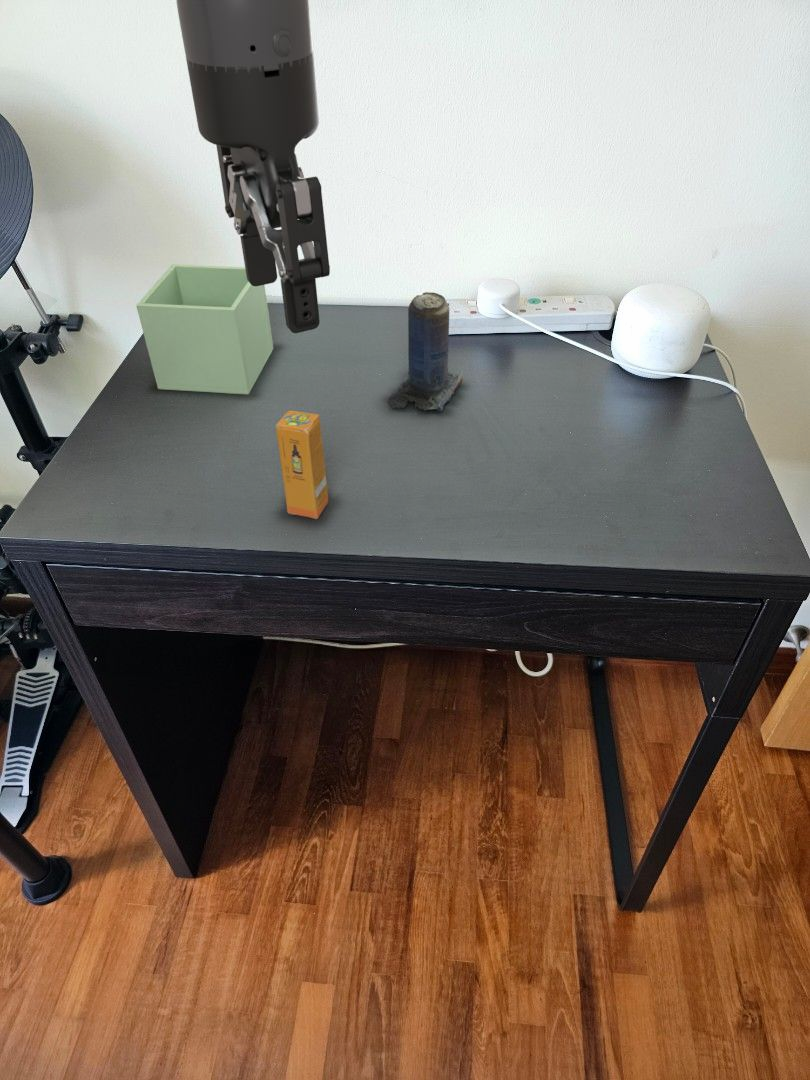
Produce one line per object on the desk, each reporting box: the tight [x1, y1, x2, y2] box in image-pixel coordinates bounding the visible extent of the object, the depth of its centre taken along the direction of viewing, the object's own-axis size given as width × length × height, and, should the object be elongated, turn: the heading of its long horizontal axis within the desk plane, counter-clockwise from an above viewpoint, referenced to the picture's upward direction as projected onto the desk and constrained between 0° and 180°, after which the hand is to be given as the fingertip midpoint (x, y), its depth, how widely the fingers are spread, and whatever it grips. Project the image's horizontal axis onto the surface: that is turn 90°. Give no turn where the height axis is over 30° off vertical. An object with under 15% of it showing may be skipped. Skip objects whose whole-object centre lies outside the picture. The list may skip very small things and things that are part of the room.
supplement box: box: [275, 409, 329, 520], centre depth 74 cm, size 3×3×10 cm
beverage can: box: [387, 291, 463, 413], centre depth 88 cm, size 9×8×12 cm
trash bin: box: [135, 263, 275, 395], centre depth 94 cm, size 11×11×11 cm
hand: (282, 305), depth 58 cm, fingers open, 8 cm apart
